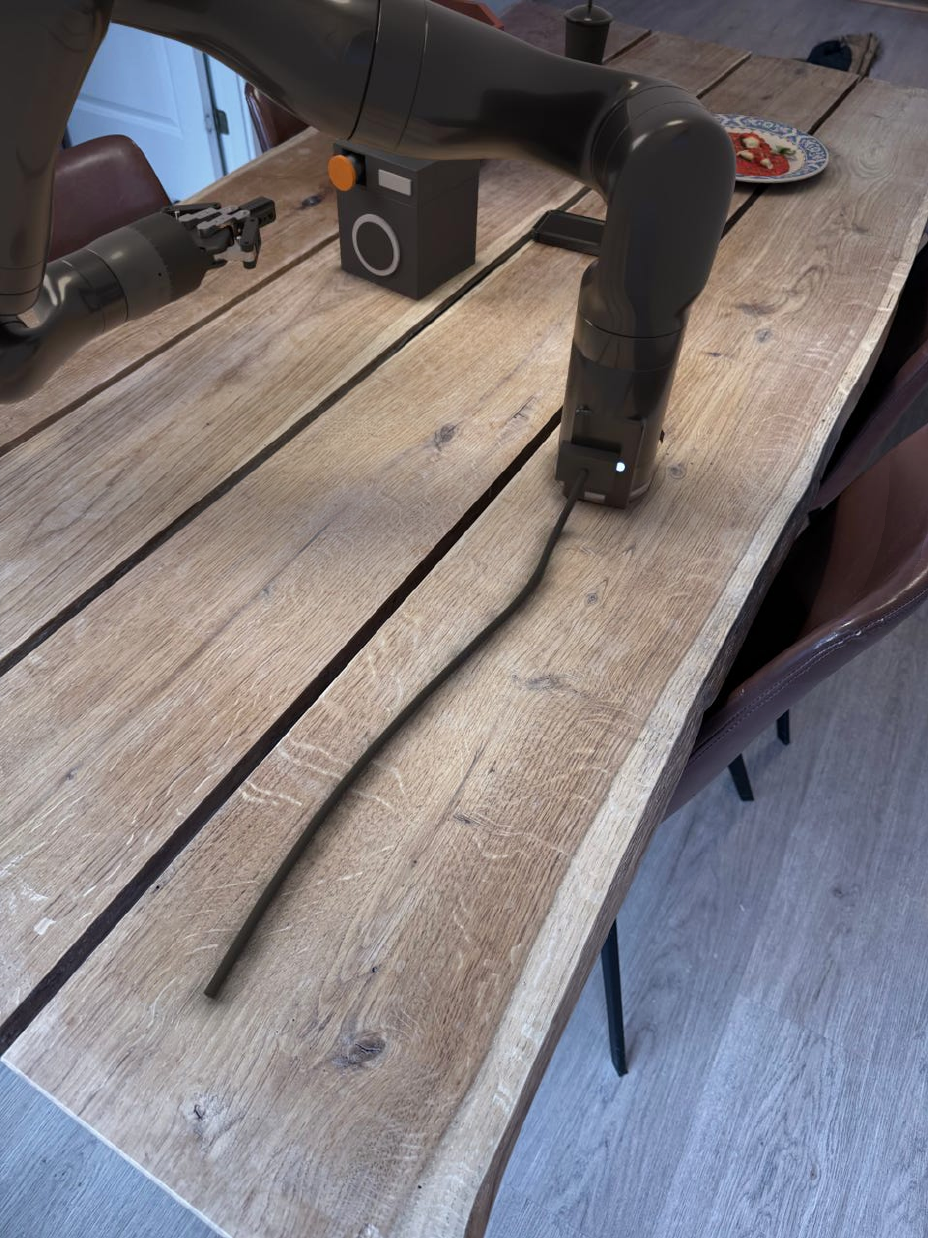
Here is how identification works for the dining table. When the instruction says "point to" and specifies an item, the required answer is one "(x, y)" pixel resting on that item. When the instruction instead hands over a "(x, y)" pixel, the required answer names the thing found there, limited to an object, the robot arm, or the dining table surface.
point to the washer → (408, 220)
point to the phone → (569, 231)
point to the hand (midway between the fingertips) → (269, 207)
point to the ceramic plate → (772, 150)
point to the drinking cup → (586, 33)
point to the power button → (347, 170)
